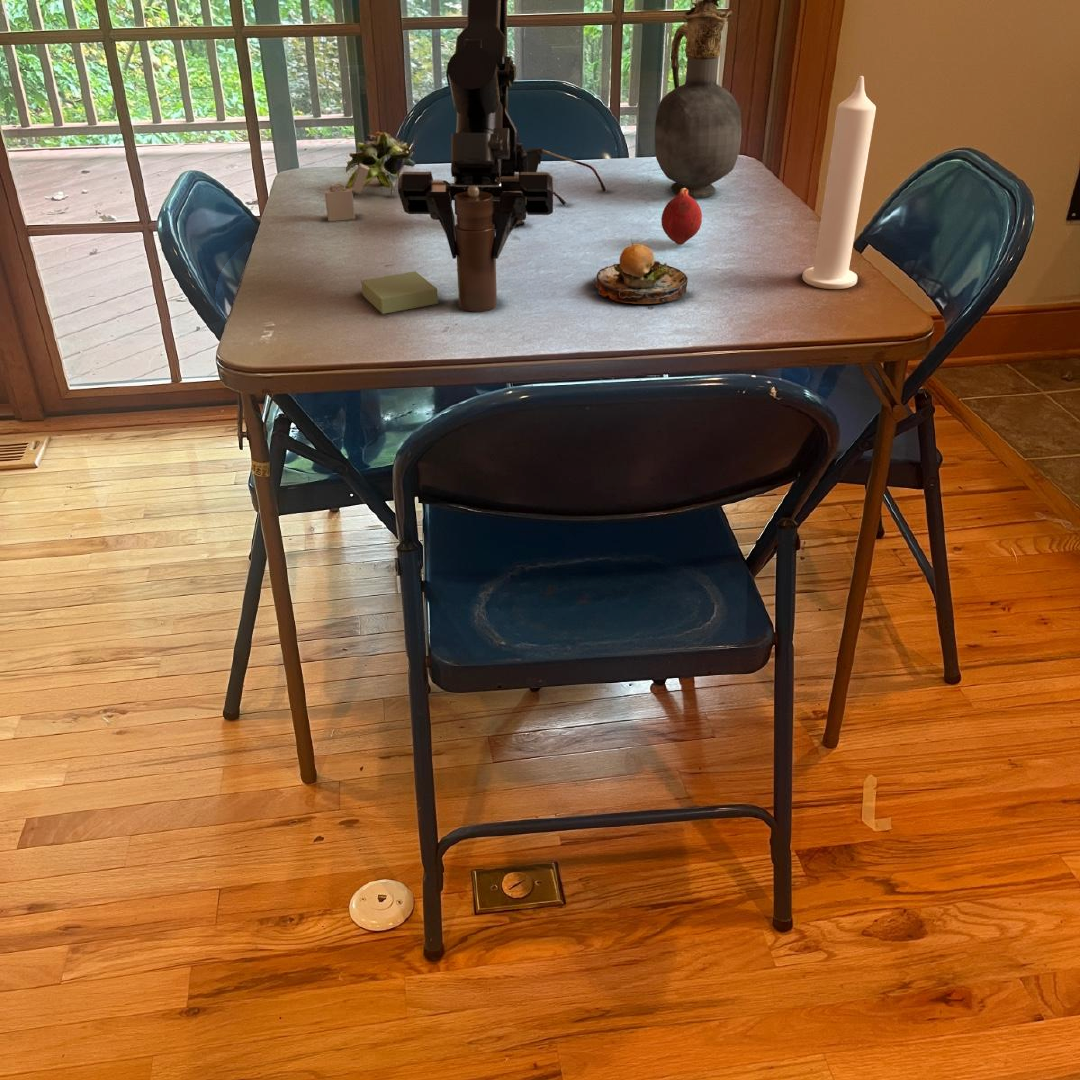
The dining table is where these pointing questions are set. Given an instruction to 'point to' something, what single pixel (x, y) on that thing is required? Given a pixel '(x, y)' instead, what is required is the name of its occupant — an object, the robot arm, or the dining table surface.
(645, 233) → the dining table surface
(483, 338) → the dining table surface
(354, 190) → the lighter
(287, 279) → the dining table surface
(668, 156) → the pitcher
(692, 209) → the onion
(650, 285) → the wood slice pumpkin decoration
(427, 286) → the riser block
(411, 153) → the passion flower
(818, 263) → the candle
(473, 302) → the pepper mill
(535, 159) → the sunglasses
